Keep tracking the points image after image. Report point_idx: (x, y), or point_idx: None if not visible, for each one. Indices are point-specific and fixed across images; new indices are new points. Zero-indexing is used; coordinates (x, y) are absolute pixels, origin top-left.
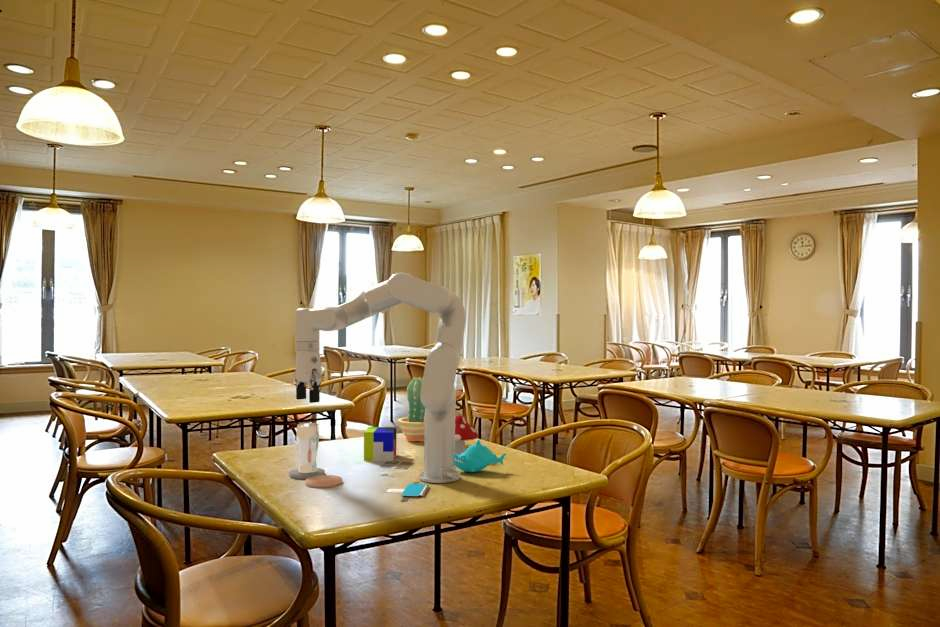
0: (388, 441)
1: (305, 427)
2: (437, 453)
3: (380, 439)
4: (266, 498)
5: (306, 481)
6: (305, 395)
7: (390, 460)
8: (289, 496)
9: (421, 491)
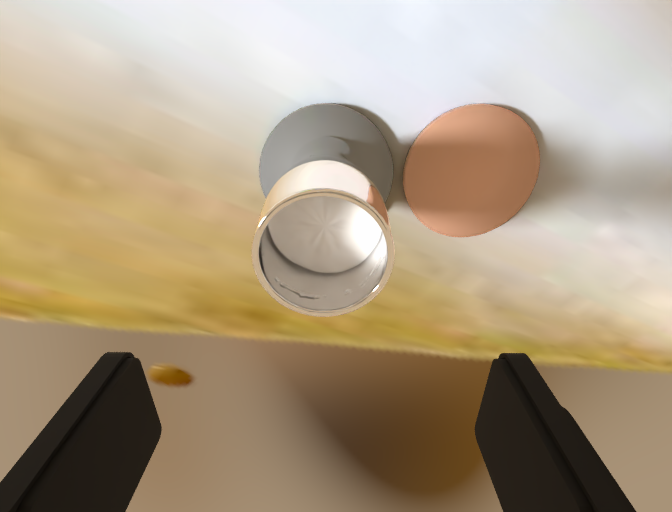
0: None
1: (376, 291)
2: None
3: None
4: (484, 351)
5: (449, 233)
6: (120, 391)
7: None
8: (514, 308)
9: None
